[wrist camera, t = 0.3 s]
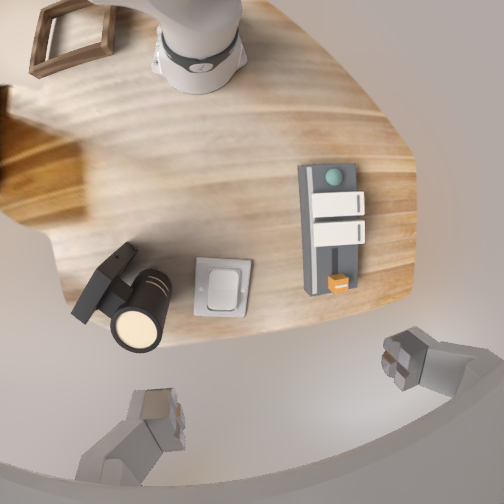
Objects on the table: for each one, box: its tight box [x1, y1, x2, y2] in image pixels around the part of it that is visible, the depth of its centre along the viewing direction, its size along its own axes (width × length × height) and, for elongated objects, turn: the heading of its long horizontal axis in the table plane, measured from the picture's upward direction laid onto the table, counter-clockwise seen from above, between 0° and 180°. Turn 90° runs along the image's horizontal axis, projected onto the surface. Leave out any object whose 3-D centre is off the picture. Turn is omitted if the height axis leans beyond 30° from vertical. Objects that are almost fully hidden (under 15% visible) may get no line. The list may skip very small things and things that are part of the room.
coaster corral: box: [29, 0, 118, 79], centre depth 36 cm, size 19×19×5 cm
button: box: [324, 169, 343, 186], centre depth 52 cm, size 3×3×1 cm
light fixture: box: [71, 242, 172, 353], centre depth 46 cm, size 10×14×18 cm
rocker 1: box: [310, 191, 365, 218], centre depth 51 cm, size 4×10×2 cm, turn 95°
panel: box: [297, 164, 358, 296], centre depth 57 cm, size 26×11×5 cm, turn 5°
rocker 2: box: [312, 220, 365, 247], centre depth 53 cm, size 4×10×2 cm, turn 95°
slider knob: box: [328, 273, 349, 294], centre depth 56 cm, size 3×3×3 cm
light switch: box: [194, 257, 251, 317], centre depth 57 cm, size 11×4×13 cm
